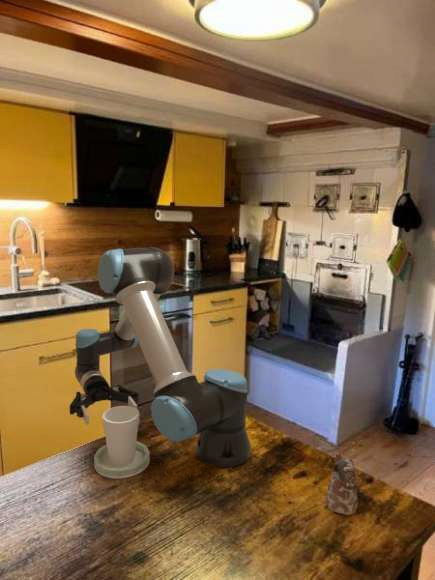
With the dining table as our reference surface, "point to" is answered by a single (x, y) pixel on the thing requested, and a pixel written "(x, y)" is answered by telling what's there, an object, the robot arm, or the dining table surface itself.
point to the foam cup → (121, 433)
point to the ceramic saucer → (118, 472)
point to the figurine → (342, 487)
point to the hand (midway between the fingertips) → (112, 415)
